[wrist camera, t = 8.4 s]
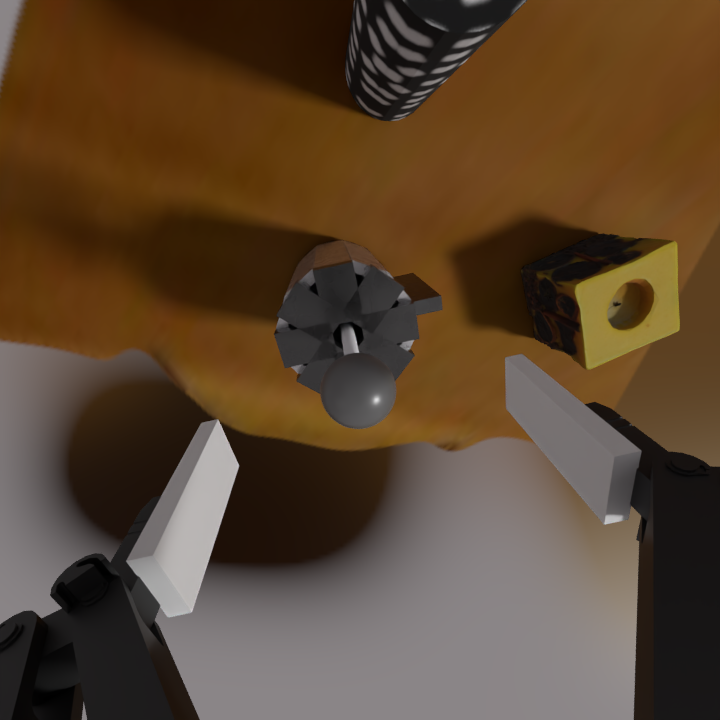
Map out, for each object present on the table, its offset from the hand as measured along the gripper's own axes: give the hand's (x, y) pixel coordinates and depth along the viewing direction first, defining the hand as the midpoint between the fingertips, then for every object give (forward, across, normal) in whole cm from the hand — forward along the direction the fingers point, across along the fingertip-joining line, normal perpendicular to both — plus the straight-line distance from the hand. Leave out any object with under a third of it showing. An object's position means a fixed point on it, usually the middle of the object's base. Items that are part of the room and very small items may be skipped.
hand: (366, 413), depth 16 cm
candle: (+27, +27, -7) cm, 39 cm away
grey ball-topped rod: (+25, 0, -1) cm, 25 cm away
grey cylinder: (+27, +1, -1) cm, 27 cm away
